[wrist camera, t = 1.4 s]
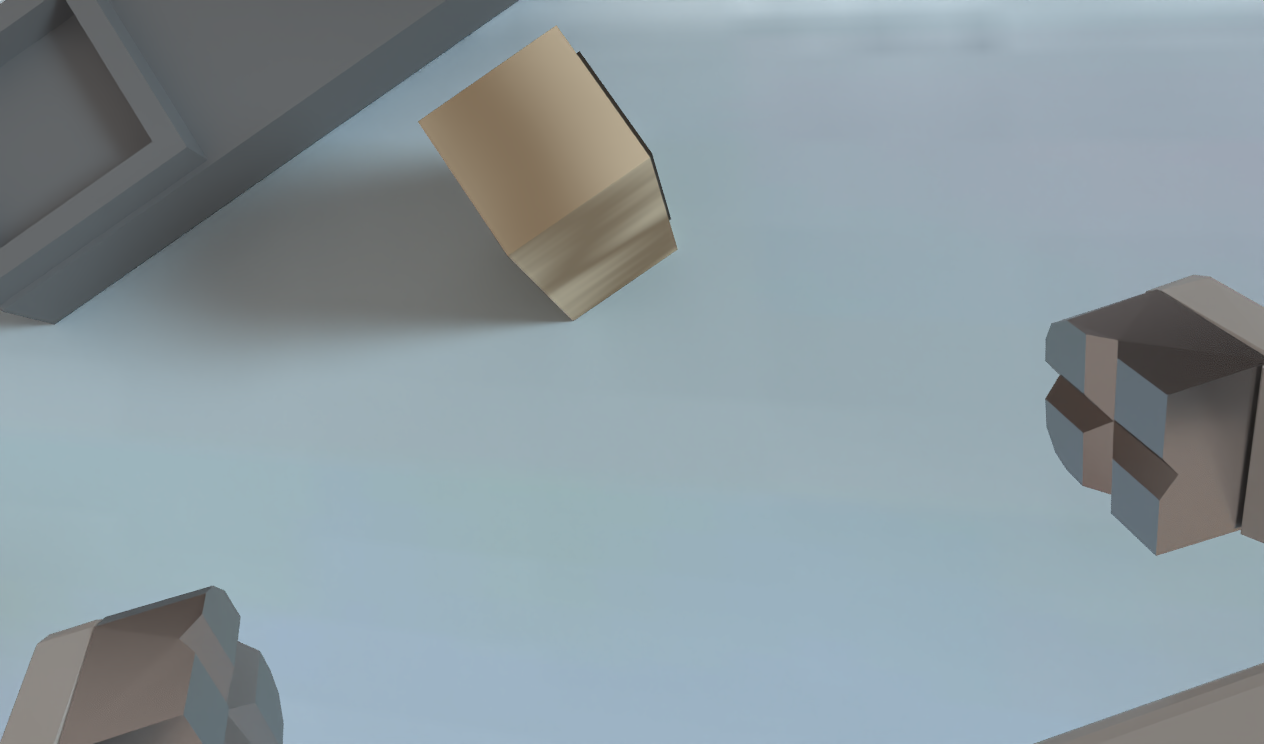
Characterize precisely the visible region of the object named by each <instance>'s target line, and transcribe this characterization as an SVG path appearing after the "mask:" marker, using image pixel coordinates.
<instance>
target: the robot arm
mask: <svg viewBox="0 0 1264 744" xmlns="http://www.w3.org/2000/svg"><path fill="white" fill-rule="evenodd" d="M1045 361H1046V362H1047V363H1048V364H1049V365H1050V366H1051V367H1052V368H1053V369H1054V370H1055V371H1056V372H1057V373H1058V374H1059V375H1060V376H1059V377H1058V379H1057V381H1056V382H1055V384H1054V385H1053V387H1052V389H1051V390H1050V392H1049V394H1048V395H1047V397H1046V399H1045V403H1046V426H1047V430H1048V433H1049V435H1050V438H1051V441H1052V444H1053V447H1054V450H1055V453H1056V454H1057V456H1058V457H1059V459H1060V460H1061V462H1062V463H1063V465H1064V467H1065V468H1066V470H1067V471H1068V472H1069V473H1070V474H1071V475H1072V476H1073V477H1074V478H1075V479H1076V480H1077V481H1078V482H1079V483H1080V484H1081V485H1082V486H1085V487H1088V488H1092V489H1095V490H1098V491H1101V492H1105V493H1108V494H1111V514H1112V515H1113V516H1114V517H1115V518H1117V519H1118V520H1119V521H1120V522H1121V523H1122V524H1123V525H1124V526H1125V527H1126V528H1127V529H1128V530H1129V531H1130V532H1131V533H1132V534H1133V535H1134V536H1136V537H1137V538H1138V539H1139V540H1140V541H1141V542H1142V543H1143V544H1144V545H1145V546H1146V547H1147V548H1148V549H1149V550H1150V551H1151V552H1152V553H1153V554H1155V555H1156V556H1157V555H1160V554H1163V553H1167V552H1170V551H1173V550H1176V549H1179V548H1183V547H1186V546H1189V545H1192V544H1196V543H1199V542H1202V541H1205V540H1209V539H1212V538H1215V537H1218V536H1222V535H1225V534H1228V533H1231V532H1235V531H1238V530H1241V534H1242V535H1245V536H1247V537H1250V538H1252V539H1255V540H1257V541H1260V542H1262V543H1264V307H1263V306H1261V305H1259V304H1257V303H1255V302H1254V301H1252V300H1250V299H1248V298H1247V297H1245V296H1243V295H1241V294H1240V293H1238V292H1236V291H1234V290H1233V289H1231V288H1229V287H1227V286H1226V285H1224V284H1222V283H1220V282H1219V281H1217V280H1215V279H1213V278H1212V277H1208V276H1200V275H1191V276H1188V277H1186V278H1183V279H1180V280H1177V281H1174V282H1171V283H1168V284H1165V285H1163V286H1160V287H1157V288H1154V289H1151V290H1148V291H1146V293H1144V294H1141V295H1138V296H1135V297H1131V298H1128V299H1125V300H1122V301H1119V302H1116V303H1113V304H1110V305H1107V306H1104V307H1101V308H1098V309H1095V310H1091V311H1088V312H1085V313H1082V314H1079V315H1076V316H1073V317H1070V318H1067V319H1064V320H1061V321H1058V322H1055V323H1051V326H1050V328H1049V331H1048V334H1047V337H1046V350H1045ZM239 626H240V615H239V613H238V612H237V610H236V608H235V607H234V605H233V604H232V602H231V600H230V599H229V597H228V595H227V594H226V592H225V591H224V590H222V589H220V588H217V587H215V586H210V587H207V588H203V589H200V590H197V591H193V592H190V593H186V594H183V595H179V596H176V597H173V598H169V599H166V600H162V601H159V602H155V603H152V604H149V605H145V606H142V607H138V608H135V609H131V610H128V611H125V612H121V613H118V614H114V615H111V616H107V617H105V618H104V619H100V620H94V621H91V622H88V623H85V624H82V625H78V626H75V627H72V628H69V629H66V630H62V631H59V632H56V633H53V634H50V635H48V636H47V637H46V638H44V639H43V640H42V641H40V642H39V643H38V644H37V646H36V648H35V650H34V653H33V656H32V658H31V661H30V664H29V666H28V669H27V672H26V674H25V677H24V680H23V682H22V685H21V688H20V690H19V693H18V696H17V699H16V701H15V704H14V707H13V709H12V712H11V715H10V717H9V720H8V723H7V725H6V728H5V731H4V734H3V736H2V739H1V742H0V744H283V726H284V724H283V717H282V711H281V705H280V698H279V693H278V690H277V687H276V684H275V682H274V679H273V676H272V673H271V671H270V669H269V667H268V665H267V663H266V661H265V659H264V658H263V656H262V654H261V652H260V651H259V650H256V649H254V648H252V647H250V646H248V645H245V644H243V643H241V642H239V641H238V634H239ZM1034 744H1264V663H1262V664H1259V665H1256V666H1253V667H1250V668H1247V669H1245V670H1242V671H1239V672H1236V673H1233V674H1230V675H1227V676H1225V677H1222V678H1219V679H1216V680H1213V681H1210V682H1208V683H1205V684H1202V685H1199V686H1196V687H1193V688H1191V689H1188V690H1185V691H1182V692H1179V693H1176V694H1173V695H1171V696H1168V697H1165V698H1162V699H1159V700H1156V701H1154V702H1151V703H1148V704H1145V705H1142V706H1139V707H1137V708H1134V709H1131V710H1128V711H1125V712H1122V713H1119V714H1117V715H1114V716H1111V717H1108V718H1105V719H1102V720H1100V721H1097V722H1094V723H1091V724H1088V725H1085V726H1083V727H1080V728H1077V729H1074V730H1071V731H1068V732H1065V733H1063V734H1060V735H1057V736H1054V737H1051V738H1048V739H1046V740H1043V741H1040V742H1037V743H1034Z"/></svg>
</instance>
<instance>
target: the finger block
mask: <svg viewBox="0 0 1264 744" xmlns="http://www.w3.org/2000/svg"><path fill="white" fill-rule="evenodd" d="M418 122H419V124H420V125H421V127H422V128H423V130H424V131H425V133H426V134H427V136H428V137H429V139H430V140H431V142H432V143H433V145H434V146H435V148H436V149H437V151H438V152H439V154H440V155H441V157H442V158H443V160H444V161H445V163H446V164H447V166H448V167H449V169H450V170H451V172H452V173H453V175H454V176H455V178H456V179H457V181H458V182H459V184H460V185H461V187H462V188H463V190H464V191H465V193H466V194H467V196H468V197H469V199H470V200H471V202H472V203H473V205H474V206H475V208H476V209H477V211H478V212H479V214H480V215H481V217H482V218H483V220H484V221H485V223H486V224H487V226H488V227H489V229H490V230H491V232H492V233H493V235H494V236H495V238H496V239H497V241H498V242H499V244H500V245H501V247H502V248H503V250H504V251H505V253H506V254H507V256H508V257H509V258H510V259H511V260H512V261H513V262H514V263H515V264H516V265H517V266H518V267H519V268H520V269H521V270H522V271H523V272H524V273H525V274H526V275H527V276H528V277H529V278H530V279H531V280H532V281H533V282H534V283H535V284H536V285H537V286H538V287H539V288H540V289H541V290H542V291H543V292H544V293H545V294H546V295H547V296H548V297H549V298H550V299H551V300H552V301H553V302H554V303H555V304H556V305H557V306H558V307H559V308H560V309H561V310H562V311H563V312H564V313H565V314H566V315H567V316H568V317H570V318H571V319H572V320H573V321H574V320H576V319H577V318H578V317H580V316H581V315H583V314H584V313H586V312H587V311H589V310H590V309H592V308H593V307H594V306H596V305H597V304H599V303H600V302H602V301H603V300H605V299H606V298H608V297H609V296H611V295H612V294H613V293H615V292H616V291H618V290H619V289H621V288H622V287H624V286H625V285H627V284H628V283H629V282H631V281H632V280H634V279H635V278H637V277H638V276H640V275H641V274H643V273H644V272H645V271H647V270H648V269H650V268H651V267H653V266H654V265H656V264H657V263H659V262H660V261H662V260H663V259H664V258H666V257H667V256H669V255H670V254H672V253H673V252H675V251H676V250H678V249H677V245H676V242H675V239H674V235H673V232H672V229H671V225H670V222H669V220H670V219H671V217H670V214H669V211H668V207H667V204H666V200H665V197H664V193H663V190H662V186H661V183H660V180H659V176H658V173H657V169H656V166H655V162H654V159H653V155H652V153H651V151H650V150H649V149H648V147H647V146H646V144H645V143H644V141H643V140H642V139H641V137H640V136H639V134H638V133H637V132H636V130H635V129H634V127H633V126H632V125H631V123H630V122H629V120H628V119H627V118H626V116H625V115H624V113H623V112H622V111H621V109H620V108H619V106H618V105H617V103H616V102H615V101H614V99H613V98H612V96H611V95H610V94H609V92H608V91H607V89H606V88H605V87H604V85H603V84H602V82H601V81H600V80H599V78H598V77H597V75H596V74H595V73H594V71H593V70H592V68H591V67H590V65H589V64H588V63H587V61H586V60H585V58H584V57H583V56H582V54H581V53H580V51H579V52H578V53H576V52H575V51H574V49H573V48H572V47H571V45H570V44H569V42H568V41H567V40H566V38H565V37H564V35H563V34H562V33H561V31H560V30H559V28H558V27H557V26H555V27H553V28H552V29H550V30H549V31H548V32H546V33H545V34H543V35H542V36H540V37H539V38H537V39H536V40H535V41H533V42H532V43H530V44H529V45H527V46H526V47H525V48H523V49H522V50H520V51H519V52H517V53H516V54H514V55H513V56H512V57H510V58H509V59H507V60H506V61H504V62H503V63H502V64H500V65H499V66H497V67H496V68H494V69H493V70H491V71H490V72H489V73H487V74H486V75H484V76H483V77H481V78H480V79H479V80H477V81H476V82H474V83H473V84H471V85H470V86H468V87H467V88H466V89H464V90H463V91H461V92H460V93H458V94H457V95H456V96H454V97H453V98H451V99H450V100H448V101H447V102H445V103H444V104H443V105H441V106H440V107H438V108H437V109H435V110H434V111H433V112H431V113H430V114H428V115H427V116H425V117H424V118H422V119H421V120H420V121H418Z"/></svg>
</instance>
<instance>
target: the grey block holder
mask: <svg viewBox="0 0 1264 744" xmlns="http://www.w3.org/2000/svg"><path fill="white" fill-rule="evenodd" d="M517 1H518V0H5V1H4V2H3V3H1V4H0V309H1V310H2V311H3V312H7V313H11V314H15V315H19V316H23V317H27V318H32V319H36V320H40V321H44V322H48V323H52V324H56V323H57V322H59V321H60V320H61V319H63V318H64V317H66V316H67V315H69V314H70V313H71V312H73V311H74V310H76V309H77V308H79V307H80V306H81V305H83V304H84V303H86V302H87V301H89V300H90V299H91V298H93V297H94V296H96V295H97V294H99V293H100V292H101V291H103V290H104V289H106V288H107V287H109V286H110V285H111V284H113V283H114V282H116V281H117V280H119V279H120V278H122V277H123V276H124V275H126V274H127V273H129V272H130V271H132V270H133V269H134V268H136V267H137V266H139V265H140V264H142V263H143V262H144V261H146V260H147V259H149V258H150V257H152V256H153V255H154V254H156V253H157V252H159V251H160V250H162V249H163V248H164V247H166V246H167V245H169V244H170V243H172V242H173V241H175V240H176V239H177V238H179V237H180V236H182V235H183V234H185V233H186V232H187V231H189V230H190V229H192V228H193V227H195V226H196V225H197V224H199V223H200V222H202V221H203V220H205V219H206V218H207V217H209V216H210V215H212V214H213V213H215V212H216V211H217V210H219V209H220V208H222V207H223V206H225V205H226V204H227V203H229V202H230V201H232V200H233V199H235V198H236V197H238V196H239V195H240V194H242V193H243V192H245V191H246V190H248V189H249V188H250V187H252V186H253V185H255V184H256V183H258V182H259V181H260V180H262V179H263V178H265V177H266V176H268V175H269V174H270V173H272V172H273V171H275V170H276V169H278V168H279V167H280V166H282V165H283V164H285V163H286V162H288V161H289V160H291V159H292V158H293V157H295V156H296V155H298V154H299V153H301V152H302V151H303V150H305V149H306V148H308V147H309V146H311V145H312V144H313V143H315V142H316V141H318V140H319V139H321V138H322V137H323V136H325V135H326V134H328V133H329V132H331V131H332V130H333V129H335V128H336V127H338V126H339V125H341V124H342V123H343V122H345V121H346V120H348V119H349V118H351V117H352V116H354V115H355V114H356V113H358V112H359V111H361V110H362V109H364V108H365V107H366V106H368V105H369V104H371V103H372V102H374V101H375V100H376V99H378V98H379V97H381V96H382V95H384V94H385V93H386V92H388V91H389V90H391V89H392V88H394V87H395V86H396V85H398V84H399V83H401V82H402V81H404V80H405V79H406V78H408V77H409V76H411V75H412V74H414V73H415V72H417V71H418V70H419V69H421V68H422V67H424V66H425V65H427V64H428V63H429V62H431V61H432V60H434V59H435V58H437V57H438V56H439V55H441V54H442V53H444V52H445V51H447V50H448V49H449V48H451V47H452V46H454V45H455V44H457V43H458V42H459V41H461V40H462V39H464V38H465V37H467V36H468V35H470V34H471V33H472V32H474V31H475V30H477V29H478V28H480V27H481V26H482V25H484V24H485V23H487V22H488V21H490V20H491V19H492V18H494V17H495V16H497V15H498V14H500V13H501V12H502V11H504V10H505V9H507V8H508V7H510V6H511V5H512V4H514V3H515V2H517Z"/></svg>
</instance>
